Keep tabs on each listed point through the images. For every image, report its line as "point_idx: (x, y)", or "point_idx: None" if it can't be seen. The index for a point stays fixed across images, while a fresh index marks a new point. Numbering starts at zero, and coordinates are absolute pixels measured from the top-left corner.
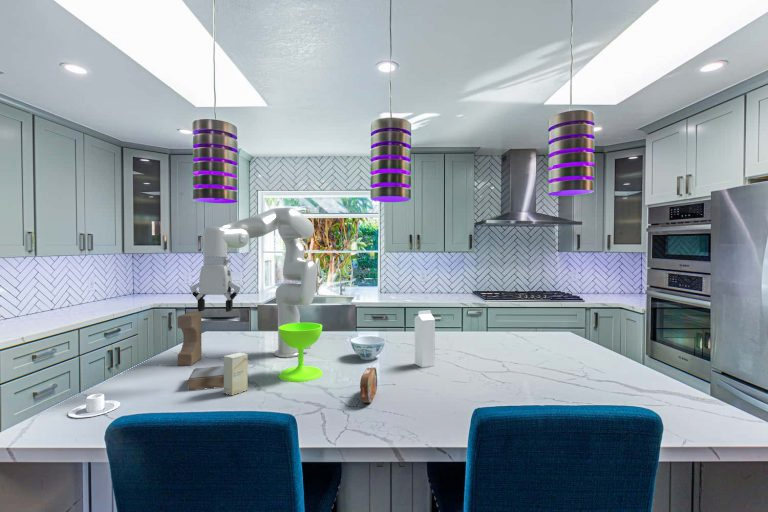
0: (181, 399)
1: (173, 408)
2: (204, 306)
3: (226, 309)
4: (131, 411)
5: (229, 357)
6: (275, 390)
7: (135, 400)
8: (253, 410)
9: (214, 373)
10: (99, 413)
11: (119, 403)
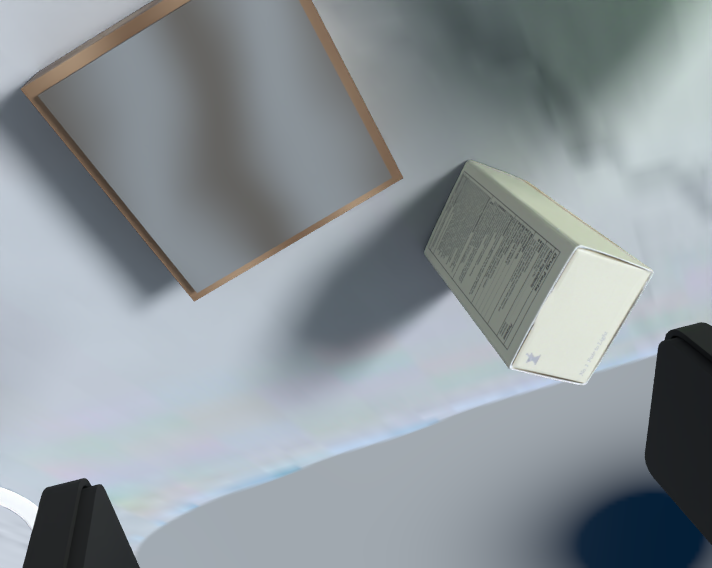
0: (255, 364)
1: (299, 439)
2: (93, 559)
3: (684, 495)
4: (144, 508)
5: (562, 381)
6: (671, 142)
7: (30, 436)
8: (629, 361)
9: (296, 174)
10: None
11: (6, 492)
